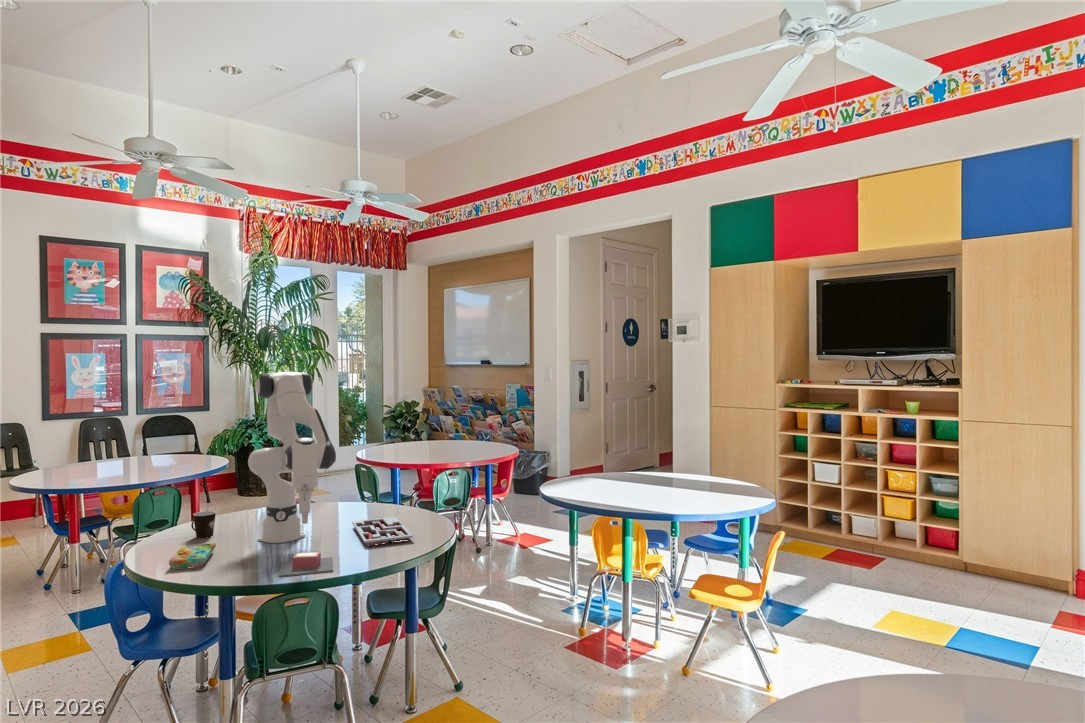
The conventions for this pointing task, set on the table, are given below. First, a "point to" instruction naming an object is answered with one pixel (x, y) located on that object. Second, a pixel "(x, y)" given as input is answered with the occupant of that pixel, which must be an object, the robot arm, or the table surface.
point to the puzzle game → (191, 556)
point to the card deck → (306, 560)
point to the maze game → (391, 529)
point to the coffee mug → (204, 523)
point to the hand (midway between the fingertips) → (305, 520)
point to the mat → (323, 567)
